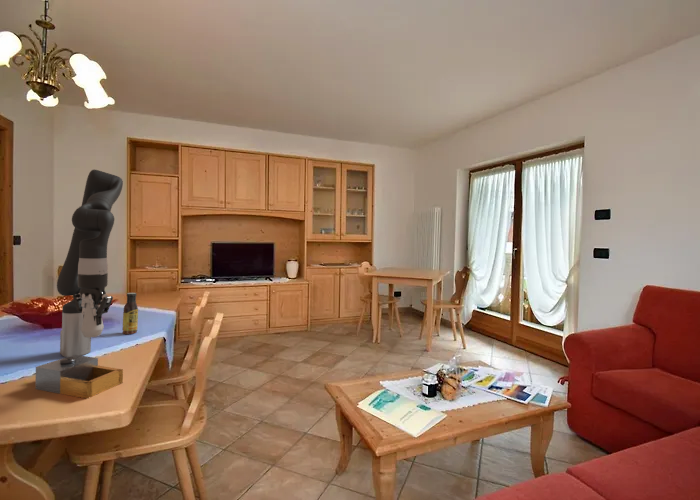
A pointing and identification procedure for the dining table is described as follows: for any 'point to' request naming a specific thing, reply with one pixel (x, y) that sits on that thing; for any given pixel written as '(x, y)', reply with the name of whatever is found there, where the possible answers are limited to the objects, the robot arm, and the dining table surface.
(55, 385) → the wooden open box
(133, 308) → the sauce bottle
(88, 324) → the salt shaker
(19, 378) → the dining table surface
